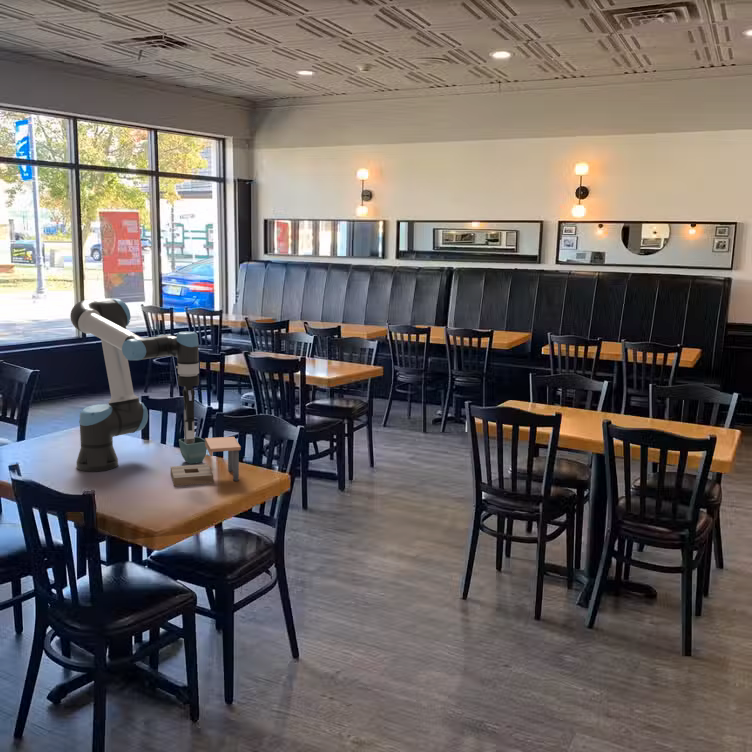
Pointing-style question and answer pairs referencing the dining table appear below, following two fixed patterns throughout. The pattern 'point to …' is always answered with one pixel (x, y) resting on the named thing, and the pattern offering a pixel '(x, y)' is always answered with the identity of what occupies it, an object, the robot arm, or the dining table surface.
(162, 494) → the dining table surface
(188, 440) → the peg
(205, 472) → the socket block
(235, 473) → the awning
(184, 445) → the flower pot
